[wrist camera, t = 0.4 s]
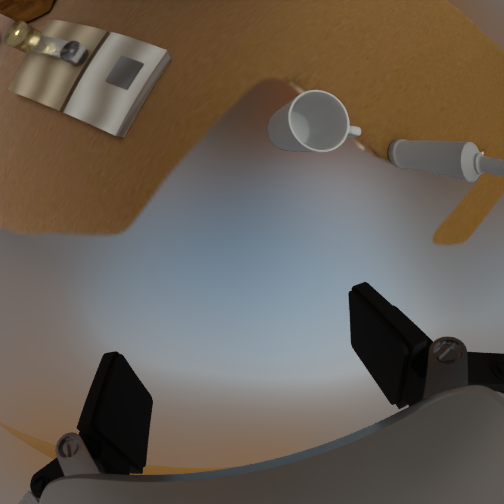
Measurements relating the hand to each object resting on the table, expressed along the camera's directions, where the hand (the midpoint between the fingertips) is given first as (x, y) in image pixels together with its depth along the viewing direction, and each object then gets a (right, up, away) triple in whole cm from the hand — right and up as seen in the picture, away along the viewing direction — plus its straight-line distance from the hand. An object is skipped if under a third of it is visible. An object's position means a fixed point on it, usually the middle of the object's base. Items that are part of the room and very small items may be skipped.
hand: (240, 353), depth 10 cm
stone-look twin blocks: (-24, +30, +18) cm, 43 cm away
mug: (+7, +21, +26) cm, 35 cm away
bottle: (+25, +21, +29) cm, 44 cm away
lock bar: (-27, +32, +12) cm, 44 cm away
